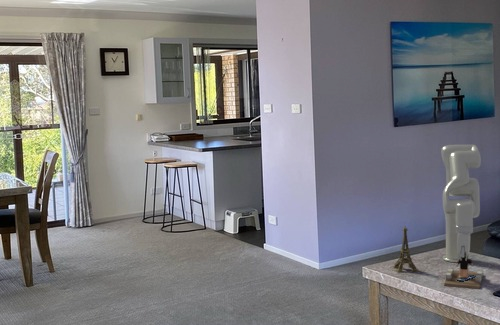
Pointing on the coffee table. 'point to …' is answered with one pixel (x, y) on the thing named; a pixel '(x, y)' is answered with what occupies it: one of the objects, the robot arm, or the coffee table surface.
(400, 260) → the eiffel tower
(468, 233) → the robot arm
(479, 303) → the coffee table surface
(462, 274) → the grandmother figurine
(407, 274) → the coffee table surface
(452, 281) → the board
